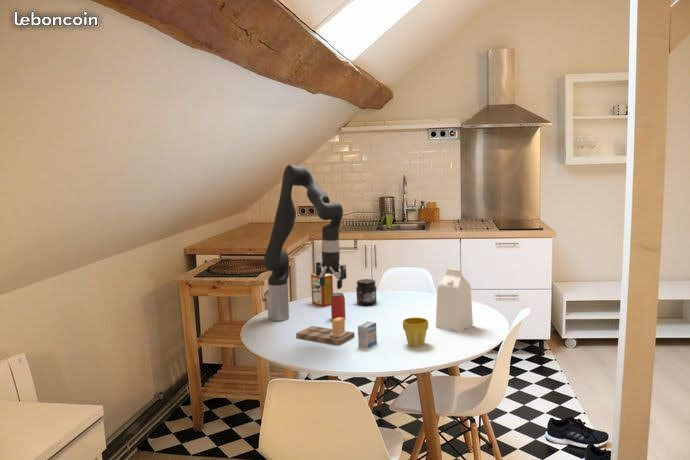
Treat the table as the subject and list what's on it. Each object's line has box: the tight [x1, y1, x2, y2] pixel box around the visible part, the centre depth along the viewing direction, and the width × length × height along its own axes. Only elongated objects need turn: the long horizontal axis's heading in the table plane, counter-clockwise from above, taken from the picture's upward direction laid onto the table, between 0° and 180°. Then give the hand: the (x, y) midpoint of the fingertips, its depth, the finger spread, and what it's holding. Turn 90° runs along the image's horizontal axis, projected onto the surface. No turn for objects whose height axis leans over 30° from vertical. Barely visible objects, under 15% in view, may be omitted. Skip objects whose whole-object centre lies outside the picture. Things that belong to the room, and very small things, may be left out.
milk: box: [435, 267, 474, 332], centre depth 269 cm, size 12×12×26 cm
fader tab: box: [330, 317, 349, 337], centre depth 256 cm, size 5×6×7 cm
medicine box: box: [357, 321, 378, 349], centre depth 249 cm, size 8×4×9 cm, turn 148°
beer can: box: [330, 292, 346, 320], centre depth 287 cm, size 7×7×12 cm
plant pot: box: [402, 316, 429, 347], centre depth 248 cm, size 10×10×10 cm
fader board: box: [295, 325, 355, 346], centre depth 261 cm, size 22×12×2 cm, turn 58°
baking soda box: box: [310, 273, 334, 308], centre depth 314 cm, size 10×6×16 cm
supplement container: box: [355, 278, 378, 307], centre depth 313 cm, size 10×10×12 cm
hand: (331, 287), depth 259 cm, fingers open, 8 cm apart
